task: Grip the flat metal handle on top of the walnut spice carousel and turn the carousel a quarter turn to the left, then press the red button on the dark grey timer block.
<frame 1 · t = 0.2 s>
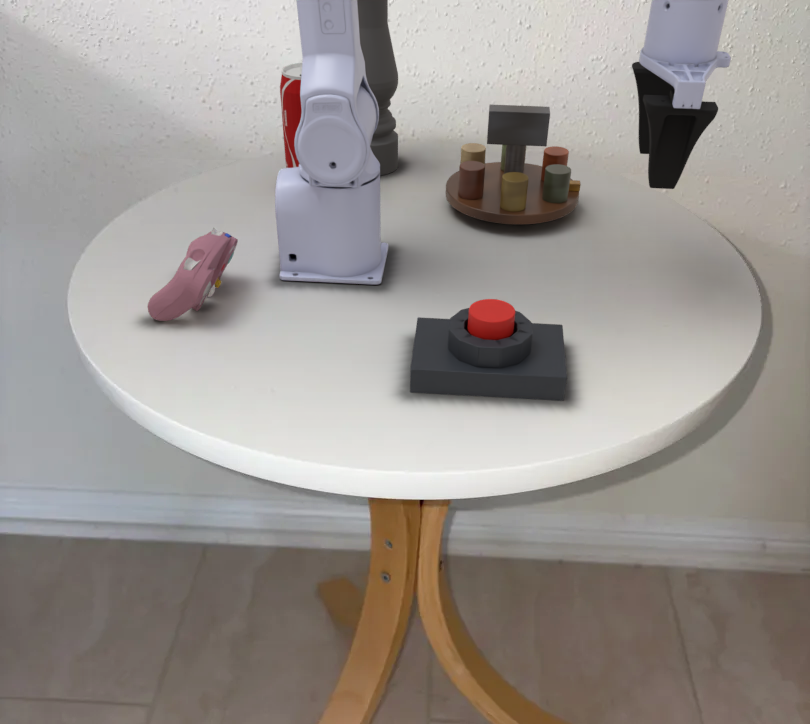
hand: (656, 169, 79), 10 cm above the table, tool pointing down, fingers open, 7 cm apart
candle holder: (371, 167, 105), on the table
spice carousel: (515, 153, 93), point 6 cm above the table, hinge at 0.0°
soda can: (312, 185, 101), on the table
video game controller: (199, 301, 82), on the table
timer block: (487, 369, 74), on the table
timer button: (491, 320, 71), point 4 cm above the table, slide at 0.1 cm
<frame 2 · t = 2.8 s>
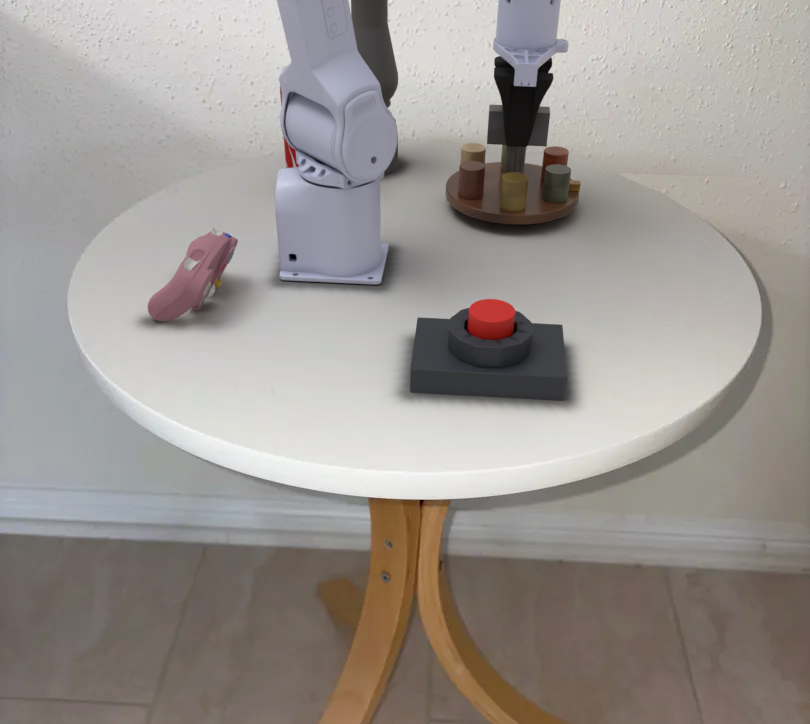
hand: (516, 140, 92), 7 cm above the table, tool pointing down, fingers closed on spice carousel, 2 cm apart
spice carousel: (515, 153, 93), point 6 cm above the table, hinge at 0.0°, touching gripper
everything else where it was.
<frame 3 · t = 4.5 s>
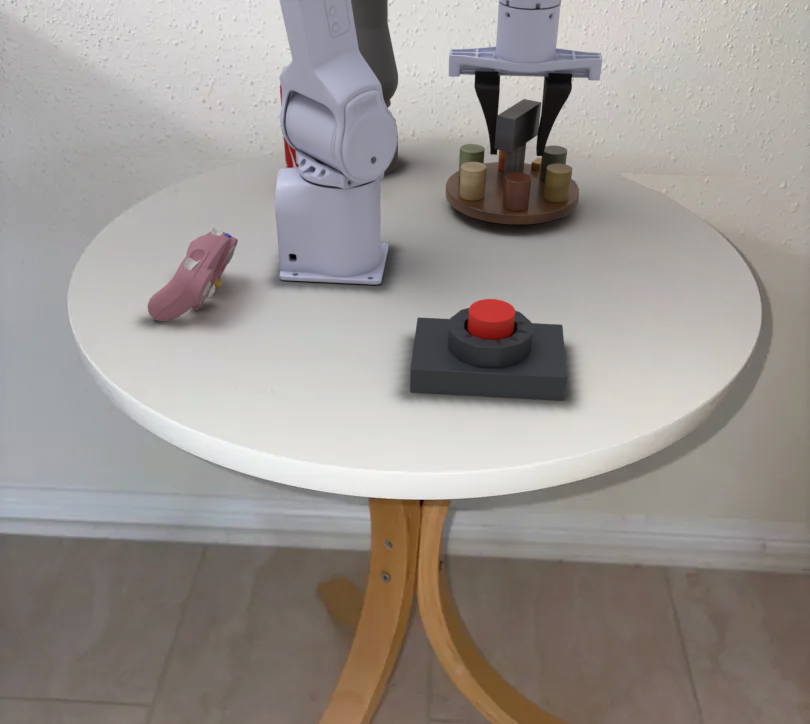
hand: (517, 151, 93), 6 cm above the table, tool pointing down, fingers closed on spice carousel, 4 cm apart
spice carousel: (515, 153, 93), point 6 cm above the table, hinge at 63.1°, touching gripper
everything else where it was.
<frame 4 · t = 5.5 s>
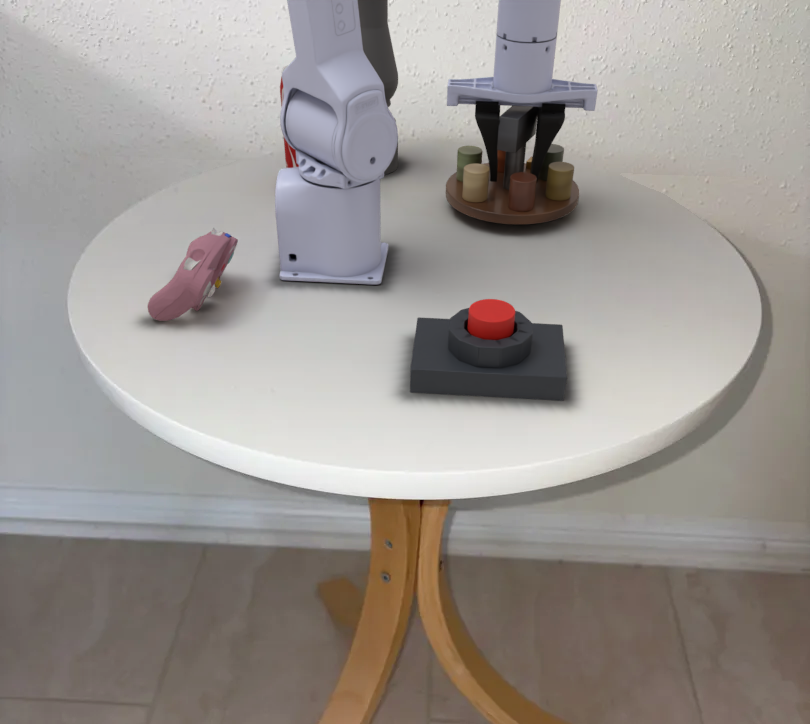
hand: (513, 178, 95), 3 cm above the table, tool pointing down, fingers closed on spice carousel, 3 cm apart
spice carousel: (515, 153, 93), point 6 cm above the table, hinge at 69.3°, touching gripper
everything else where it was.
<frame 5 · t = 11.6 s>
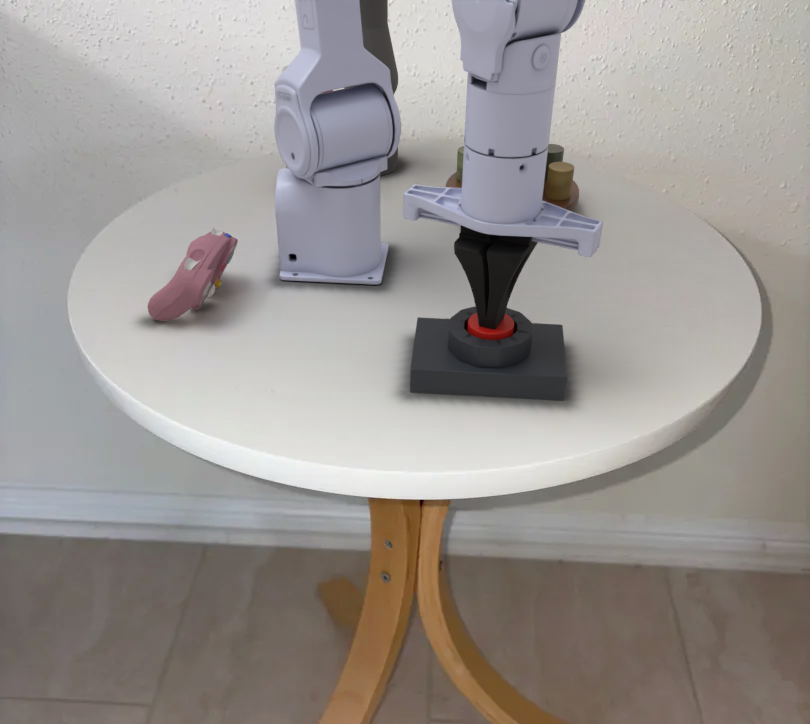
hand: (491, 322, 71), 4 cm above the table, tool pointing down, fingers closed, pressing on timer button
spice carousel: (515, 153, 93), point 6 cm above the table, hinge at 69.3°
timer button: (490, 331, 71), point 3 cm above the table, slide at -0.9 cm, touching gripper
everything else where it was.
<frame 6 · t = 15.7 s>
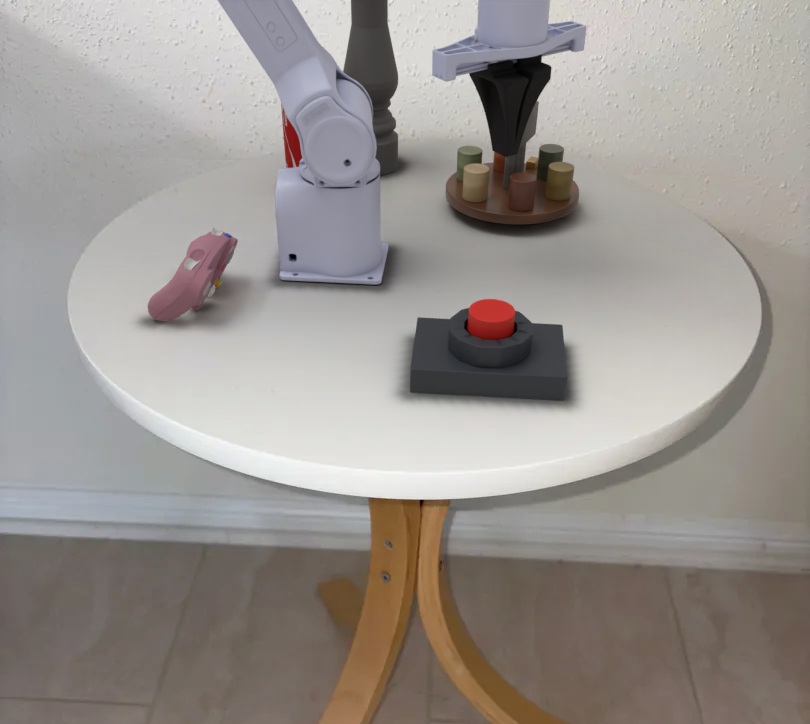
hand: (504, 152, 81), 10 cm above the table, tool pointing down, fingers closed
timer button: (491, 320, 71), point 5 cm above the table, slide at 0.1 cm
everything else where it was.
at the end: spice carousel at +69° (first picture: +0°); timer button pushed in 1.2 cm at the most during the clip, back to where it started at the end; timer button slide at 0.1 cm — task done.
